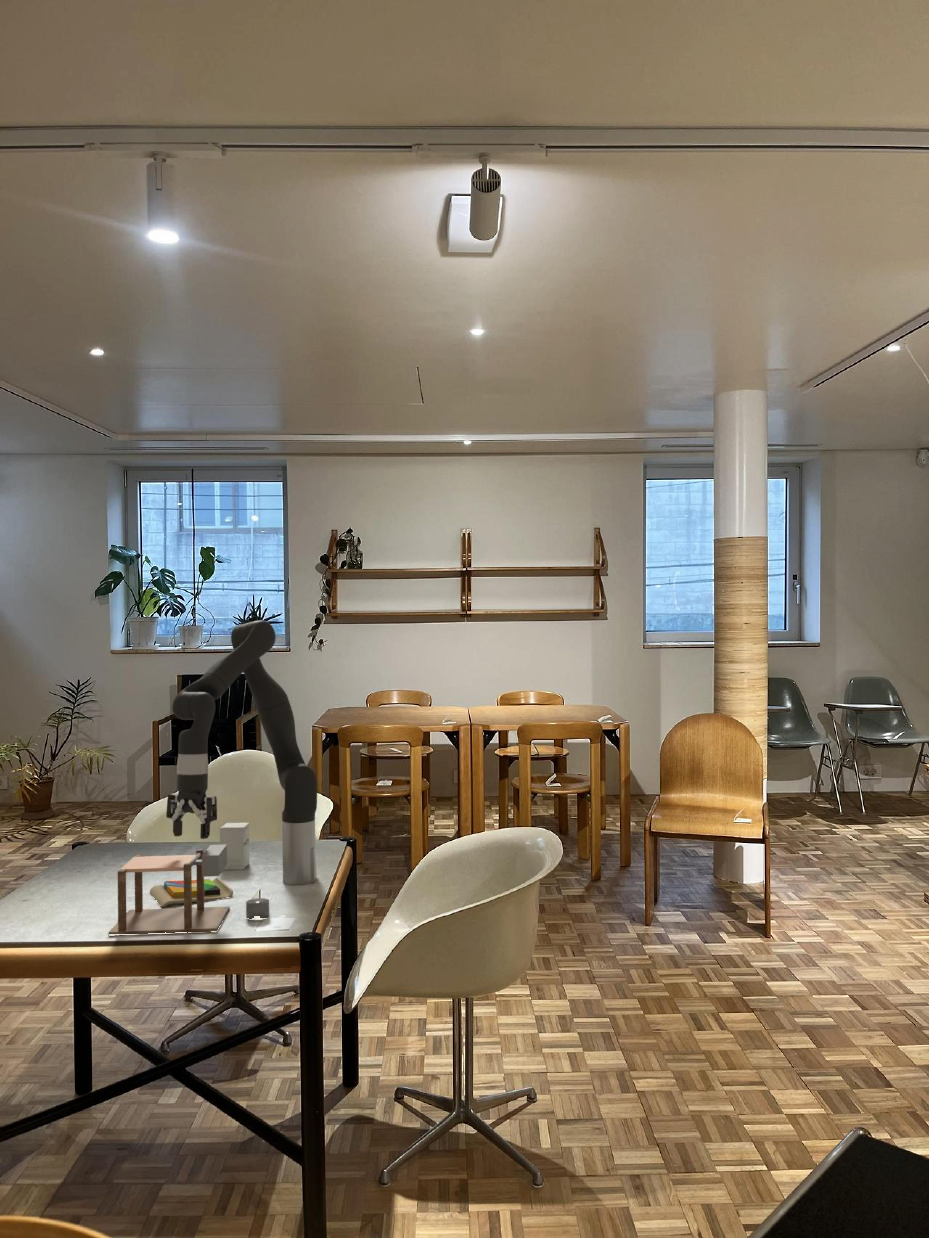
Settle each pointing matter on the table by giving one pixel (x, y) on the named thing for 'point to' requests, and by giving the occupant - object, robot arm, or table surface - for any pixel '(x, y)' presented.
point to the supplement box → (236, 844)
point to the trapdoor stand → (167, 918)
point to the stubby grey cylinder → (257, 908)
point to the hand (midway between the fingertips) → (191, 837)
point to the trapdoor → (182, 862)
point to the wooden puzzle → (175, 891)
